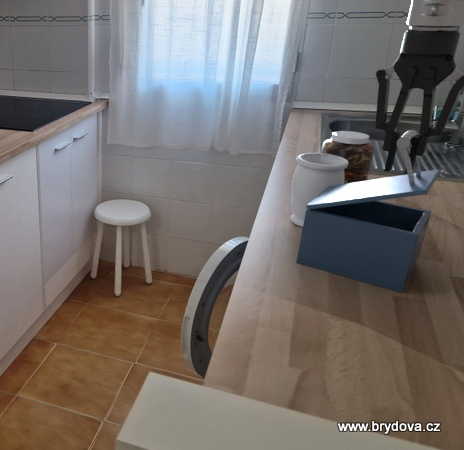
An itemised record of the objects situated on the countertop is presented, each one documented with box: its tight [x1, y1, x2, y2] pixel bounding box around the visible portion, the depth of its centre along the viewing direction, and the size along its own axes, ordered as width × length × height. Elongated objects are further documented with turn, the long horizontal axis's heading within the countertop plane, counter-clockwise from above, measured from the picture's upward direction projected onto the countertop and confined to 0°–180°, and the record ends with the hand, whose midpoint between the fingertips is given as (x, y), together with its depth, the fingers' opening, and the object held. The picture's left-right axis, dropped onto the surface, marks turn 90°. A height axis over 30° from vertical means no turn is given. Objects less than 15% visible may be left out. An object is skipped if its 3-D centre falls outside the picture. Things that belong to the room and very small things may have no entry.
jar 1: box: [290, 152, 348, 228], centre depth 120 cm, size 11×10×15 cm
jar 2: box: [320, 130, 375, 184], centre depth 139 cm, size 12×12×15 cm
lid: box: [306, 129, 441, 209], centre depth 98 cm, size 19×14×9 cm
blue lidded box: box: [295, 200, 432, 294], centre depth 102 cm, size 18×14×11 cm
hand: (398, 170), depth 95 cm, fingers open, 2 cm apart
